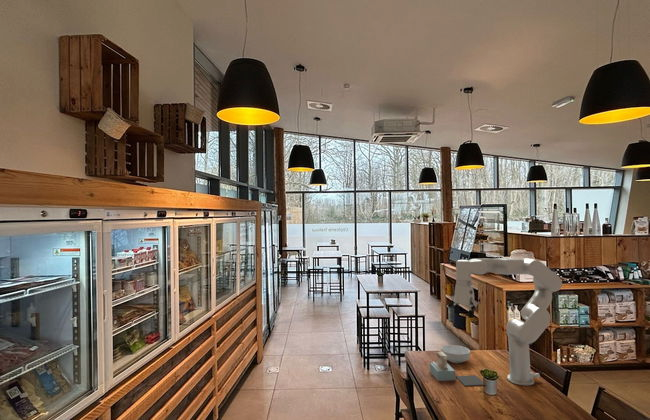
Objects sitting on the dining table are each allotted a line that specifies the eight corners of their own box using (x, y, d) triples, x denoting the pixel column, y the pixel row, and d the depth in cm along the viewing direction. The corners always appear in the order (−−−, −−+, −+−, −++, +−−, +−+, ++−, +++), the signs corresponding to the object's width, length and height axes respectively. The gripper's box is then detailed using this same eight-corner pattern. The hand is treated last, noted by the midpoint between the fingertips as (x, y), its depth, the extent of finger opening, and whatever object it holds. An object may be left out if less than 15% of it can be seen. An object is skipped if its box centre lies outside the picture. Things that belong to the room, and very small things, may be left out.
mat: (475, 376, 192) (475, 375, 192) (485, 385, 181) (485, 384, 181) (455, 377, 191) (455, 376, 191) (464, 386, 180) (464, 385, 180)
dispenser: (446, 371, 200) (446, 360, 200) (455, 380, 188) (454, 369, 188) (430, 371, 199) (429, 361, 199) (437, 381, 187) (437, 370, 188)
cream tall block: (443, 373, 197) (442, 351, 197) (447, 378, 190) (446, 355, 191) (437, 373, 197) (436, 351, 197) (441, 378, 190) (440, 356, 191)
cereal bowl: (472, 367, 204) (471, 355, 204) (442, 365, 208) (441, 353, 208) (468, 356, 220) (468, 345, 221) (440, 354, 225) (440, 343, 225)
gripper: (482, 285, 182) (482, 318, 182) (456, 280, 198) (456, 311, 197) (471, 286, 179) (472, 320, 178) (446, 281, 195) (446, 312, 194)
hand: (464, 315), depth 188 cm, fingers open, 9 cm apart
